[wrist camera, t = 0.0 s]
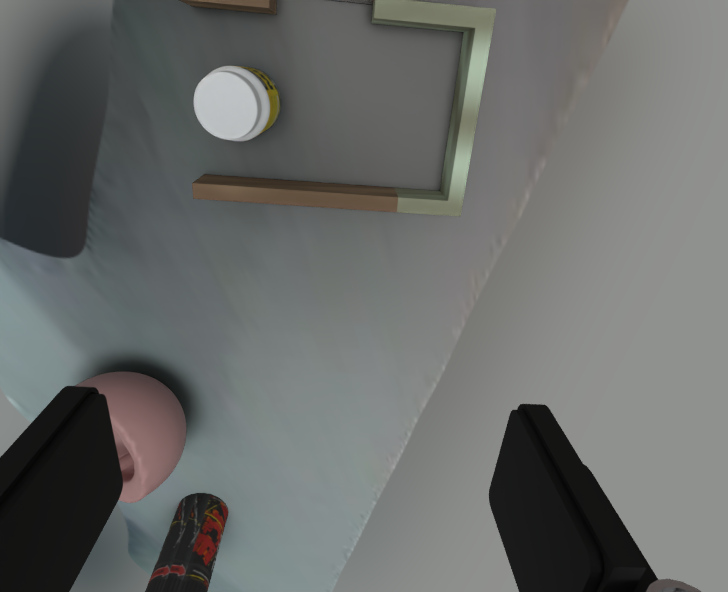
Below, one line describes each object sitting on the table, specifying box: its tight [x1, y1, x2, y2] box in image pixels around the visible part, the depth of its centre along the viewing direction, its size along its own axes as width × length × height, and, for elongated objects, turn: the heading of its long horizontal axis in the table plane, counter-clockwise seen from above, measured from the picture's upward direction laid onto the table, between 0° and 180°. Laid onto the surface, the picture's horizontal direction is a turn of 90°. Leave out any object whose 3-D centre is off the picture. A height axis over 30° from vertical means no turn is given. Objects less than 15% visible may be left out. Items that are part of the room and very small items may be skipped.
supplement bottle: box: [194, 66, 281, 141], centre depth 32 cm, size 5×5×8 cm
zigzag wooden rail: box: [180, 0, 496, 216], centre depth 33 cm, size 22×21×4 cm
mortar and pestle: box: [76, 372, 186, 503], centre depth 43 cm, size 12×12×11 cm
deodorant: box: [145, 493, 228, 592], centre depth 49 cm, size 6×6×15 cm
